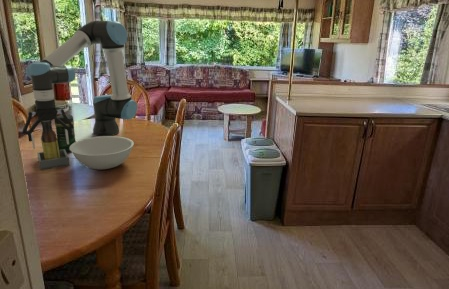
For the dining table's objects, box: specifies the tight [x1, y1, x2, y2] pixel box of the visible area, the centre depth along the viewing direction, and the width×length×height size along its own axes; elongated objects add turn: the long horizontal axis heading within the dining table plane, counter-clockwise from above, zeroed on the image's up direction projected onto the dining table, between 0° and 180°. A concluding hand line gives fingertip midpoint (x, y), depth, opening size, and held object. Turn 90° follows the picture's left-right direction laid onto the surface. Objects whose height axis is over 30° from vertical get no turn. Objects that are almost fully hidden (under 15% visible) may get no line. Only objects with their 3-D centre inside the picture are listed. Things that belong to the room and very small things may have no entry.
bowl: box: [69, 135, 135, 170], centre depth 143 cm, size 27×27×10 cm
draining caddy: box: [37, 149, 70, 171], centre depth 144 cm, size 12×13×4 cm
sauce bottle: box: [40, 120, 60, 160], centre depth 141 cm, size 6×6×20 cm
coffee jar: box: [54, 113, 77, 153], centre depth 159 cm, size 10×8×19 cm
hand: (51, 145), depth 142 cm, fingers open, 13 cm apart
